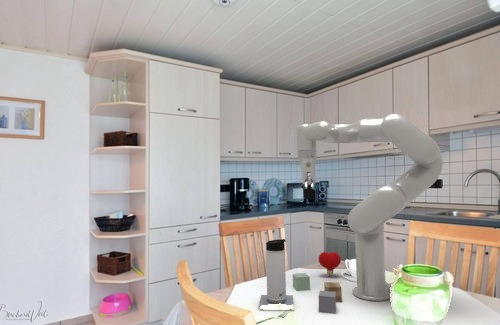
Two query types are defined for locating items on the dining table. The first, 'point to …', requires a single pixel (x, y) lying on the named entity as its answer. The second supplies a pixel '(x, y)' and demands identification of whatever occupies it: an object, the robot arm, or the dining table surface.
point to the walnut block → (334, 289)
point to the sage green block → (301, 282)
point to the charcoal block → (327, 302)
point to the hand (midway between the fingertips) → (308, 198)
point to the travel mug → (276, 271)
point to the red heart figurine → (329, 261)
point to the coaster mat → (264, 302)
